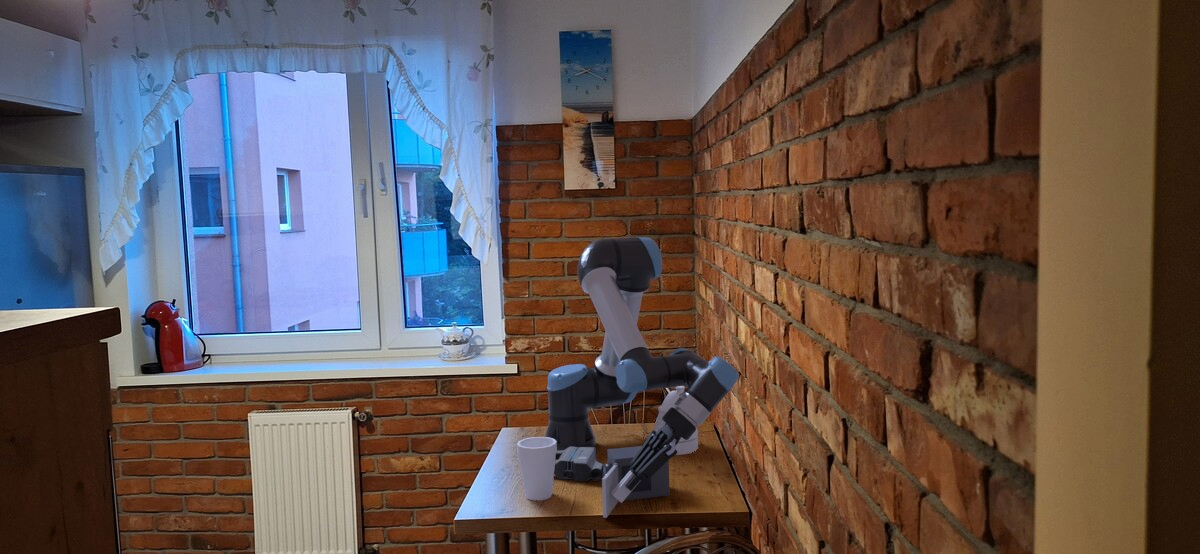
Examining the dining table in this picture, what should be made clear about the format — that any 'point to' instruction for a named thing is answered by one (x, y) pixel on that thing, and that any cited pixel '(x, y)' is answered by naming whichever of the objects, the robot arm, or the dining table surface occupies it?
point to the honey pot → (668, 403)
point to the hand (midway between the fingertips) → (616, 497)
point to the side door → (609, 490)
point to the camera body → (644, 489)
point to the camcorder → (578, 464)
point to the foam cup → (537, 466)
